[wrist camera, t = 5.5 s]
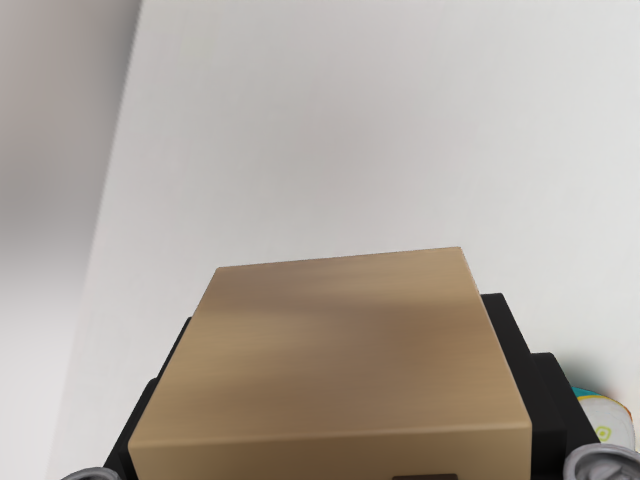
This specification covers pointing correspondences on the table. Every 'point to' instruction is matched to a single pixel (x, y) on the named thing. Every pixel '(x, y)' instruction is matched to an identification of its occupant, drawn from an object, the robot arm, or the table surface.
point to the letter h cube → (338, 378)
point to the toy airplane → (607, 418)
